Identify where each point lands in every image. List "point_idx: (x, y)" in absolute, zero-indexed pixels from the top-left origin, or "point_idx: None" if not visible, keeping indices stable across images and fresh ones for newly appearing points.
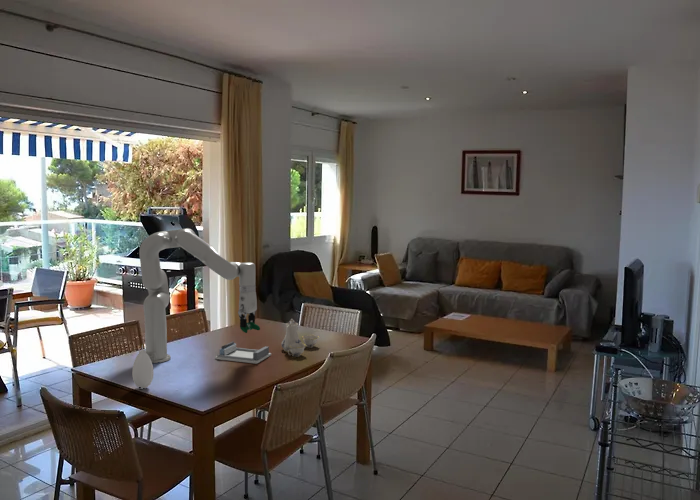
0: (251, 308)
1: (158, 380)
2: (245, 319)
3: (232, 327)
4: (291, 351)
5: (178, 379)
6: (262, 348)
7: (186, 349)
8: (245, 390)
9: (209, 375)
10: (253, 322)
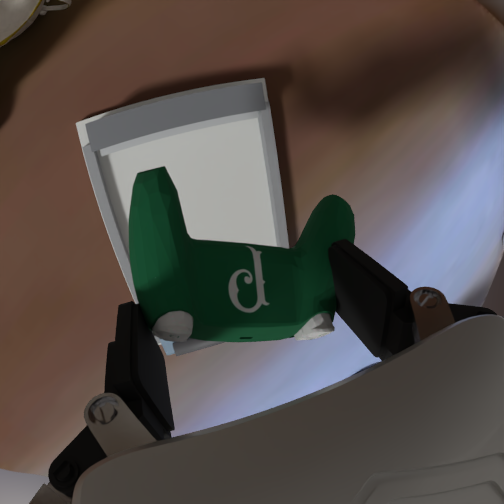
0: (449, 431)
1: (478, 252)
2: (402, 293)
3: (7, 467)
4: (41, 8)
5: (472, 219)
6: (145, 127)
7: None
8: (472, 7)
9: (442, 166)
10: (159, 302)
